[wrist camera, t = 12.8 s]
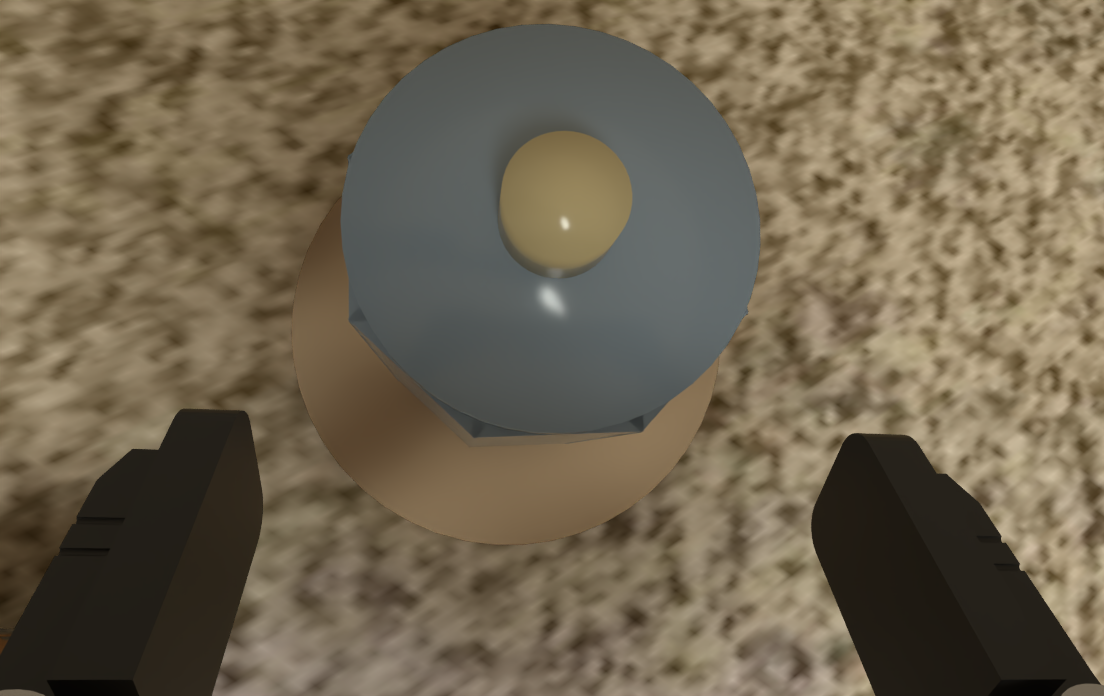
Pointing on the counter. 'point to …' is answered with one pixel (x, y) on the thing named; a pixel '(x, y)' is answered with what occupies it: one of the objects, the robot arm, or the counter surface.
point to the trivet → (440, 455)
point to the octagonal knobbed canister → (547, 235)
